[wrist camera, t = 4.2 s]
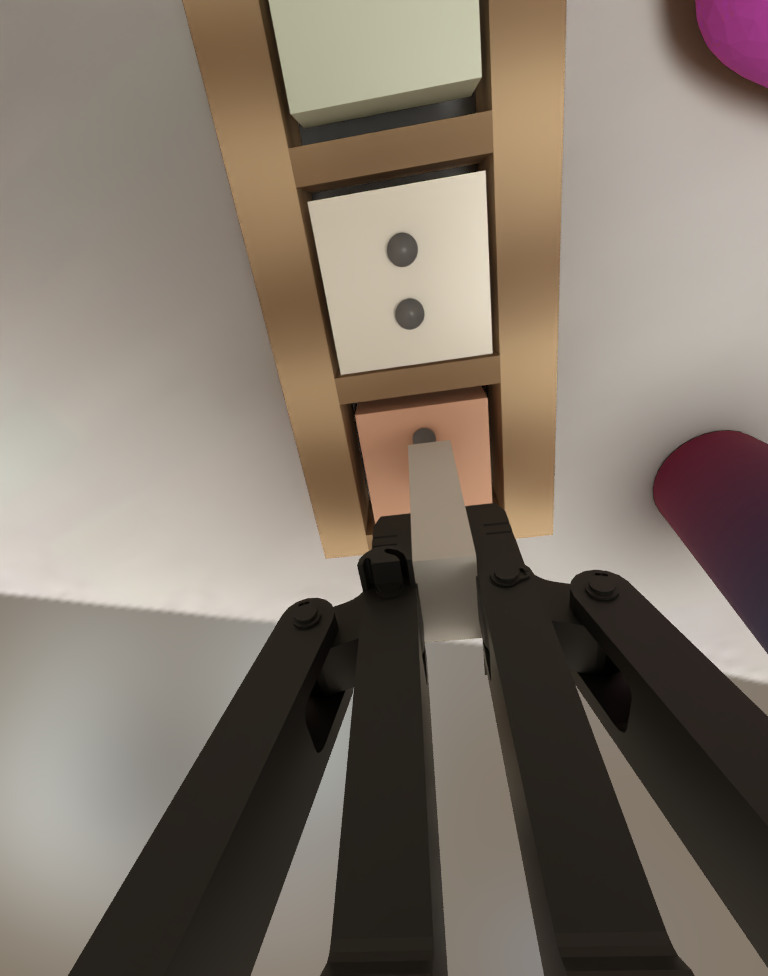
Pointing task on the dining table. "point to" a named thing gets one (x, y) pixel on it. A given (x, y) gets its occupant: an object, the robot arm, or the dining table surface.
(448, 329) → the button
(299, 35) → the button
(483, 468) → the button
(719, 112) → the dining table surface
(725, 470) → the cup
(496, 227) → the panel
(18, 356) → the dining table surface
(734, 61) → the donut
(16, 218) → the dining table surface
